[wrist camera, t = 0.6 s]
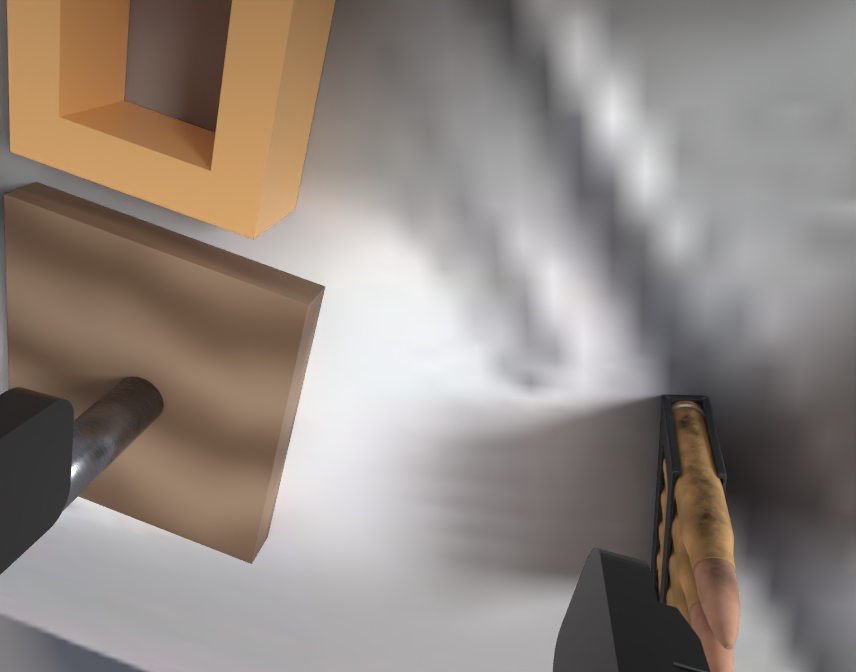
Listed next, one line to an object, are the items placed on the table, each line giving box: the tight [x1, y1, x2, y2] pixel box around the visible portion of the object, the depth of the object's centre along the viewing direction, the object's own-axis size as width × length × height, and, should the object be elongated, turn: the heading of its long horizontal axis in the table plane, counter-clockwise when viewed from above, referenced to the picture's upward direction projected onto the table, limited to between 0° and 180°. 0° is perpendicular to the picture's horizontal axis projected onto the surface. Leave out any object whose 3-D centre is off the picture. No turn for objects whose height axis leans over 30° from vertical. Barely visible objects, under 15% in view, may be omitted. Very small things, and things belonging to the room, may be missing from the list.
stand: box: [4, 182, 325, 564], centre depth 31 cm, size 16×14×10 cm
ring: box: [7, 0, 336, 240], centre depth 25 cm, size 10×10×4 cm
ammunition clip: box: [651, 395, 740, 672], centre depth 26 cm, size 11×2×12 cm, turn 5°
